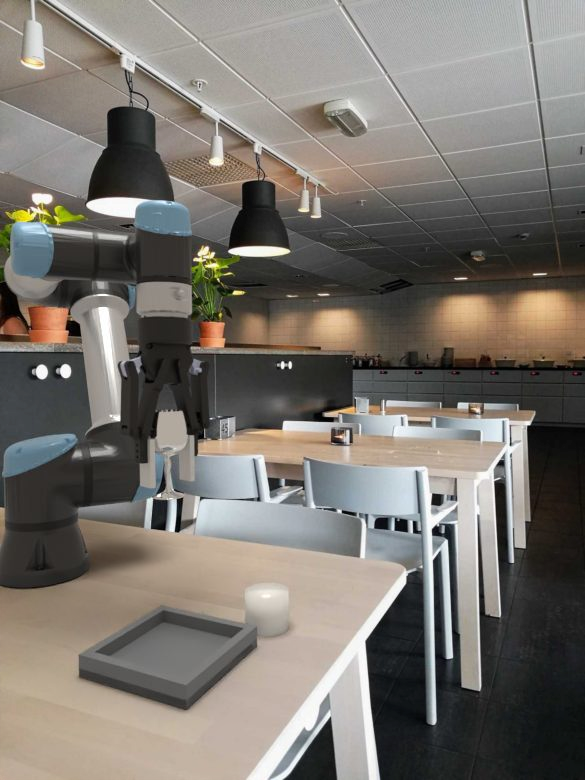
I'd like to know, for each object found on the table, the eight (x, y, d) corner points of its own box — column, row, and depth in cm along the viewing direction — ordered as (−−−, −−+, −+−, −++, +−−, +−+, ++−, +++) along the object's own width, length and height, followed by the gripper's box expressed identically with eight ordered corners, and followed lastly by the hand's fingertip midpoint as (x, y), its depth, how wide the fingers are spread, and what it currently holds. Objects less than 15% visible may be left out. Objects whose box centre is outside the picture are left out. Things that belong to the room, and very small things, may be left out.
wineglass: (145, 501, 78) (143, 412, 77) (149, 493, 83) (147, 410, 83) (189, 499, 79) (187, 411, 78) (189, 491, 84) (188, 409, 84)
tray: (79, 676, 66) (78, 654, 66) (162, 623, 80) (161, 605, 80) (186, 709, 60) (186, 685, 60) (257, 646, 73) (256, 626, 73)
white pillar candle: (236, 631, 78) (236, 594, 77) (258, 614, 83) (258, 579, 83) (276, 640, 75) (276, 602, 75) (296, 622, 80) (296, 586, 80)
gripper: (116, 310, 71) (120, 498, 72) (234, 319, 84) (236, 477, 85) (87, 315, 76) (91, 490, 77) (203, 322, 90) (205, 471, 90)
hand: (168, 483), depth 81 cm, fingers closed on wineglass, 6 cm apart
